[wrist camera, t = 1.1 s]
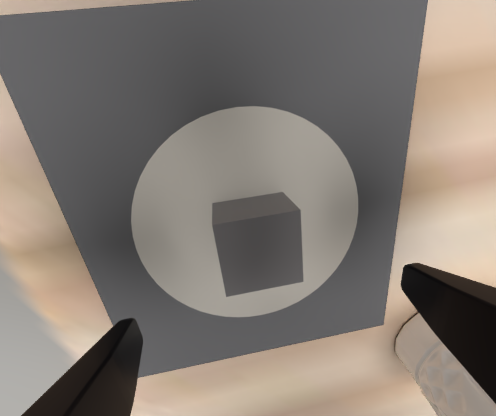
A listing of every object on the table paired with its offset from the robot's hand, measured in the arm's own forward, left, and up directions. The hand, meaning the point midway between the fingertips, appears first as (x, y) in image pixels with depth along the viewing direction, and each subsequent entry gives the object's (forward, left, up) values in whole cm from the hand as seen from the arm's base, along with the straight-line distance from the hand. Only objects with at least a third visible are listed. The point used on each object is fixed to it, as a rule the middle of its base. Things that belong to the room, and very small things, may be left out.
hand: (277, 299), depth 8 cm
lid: (0, 0, -6) cm, 6 cm away
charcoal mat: (0, 0, -6) cm, 6 cm away
